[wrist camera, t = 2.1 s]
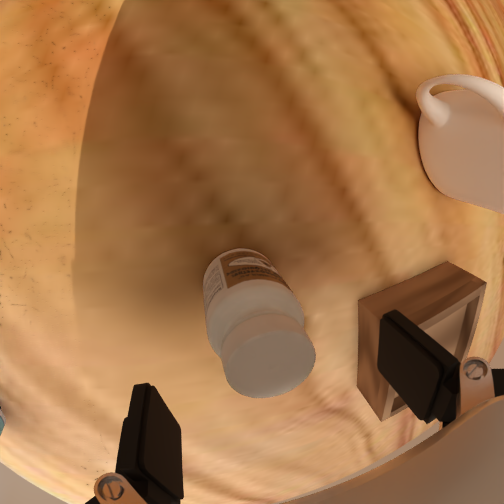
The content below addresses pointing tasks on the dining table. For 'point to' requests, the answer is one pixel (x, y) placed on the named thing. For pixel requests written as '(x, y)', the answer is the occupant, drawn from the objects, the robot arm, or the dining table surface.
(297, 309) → the pill bottle
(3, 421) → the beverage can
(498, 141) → the mug
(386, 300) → the walnut box
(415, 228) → the dining table surface
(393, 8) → the dining table surface
